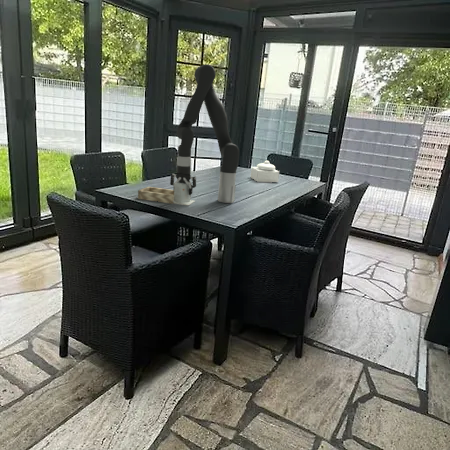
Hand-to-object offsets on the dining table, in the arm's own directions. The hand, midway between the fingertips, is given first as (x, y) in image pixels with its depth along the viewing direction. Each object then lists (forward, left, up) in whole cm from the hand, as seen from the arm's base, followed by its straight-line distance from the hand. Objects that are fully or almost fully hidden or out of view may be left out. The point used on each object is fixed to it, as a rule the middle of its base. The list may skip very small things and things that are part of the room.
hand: (182, 193), depth 202 cm
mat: (-1, 0, -5) cm, 5 cm away
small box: (0, 0, -5) cm, 4 cm away
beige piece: (+14, 0, -5) cm, 14 cm away
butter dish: (-30, -102, -5) cm, 107 cm away
